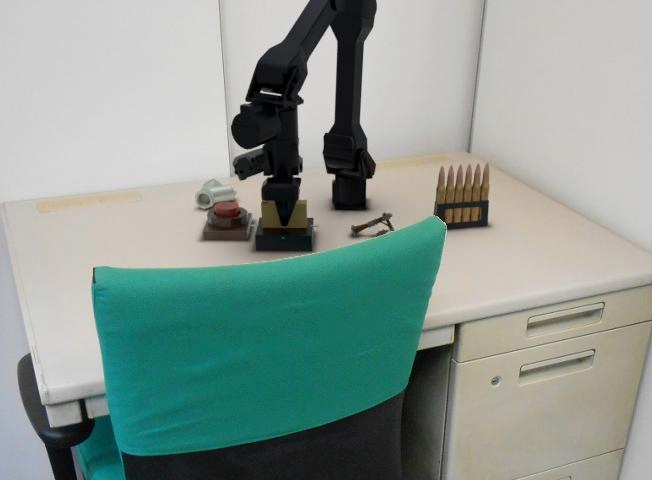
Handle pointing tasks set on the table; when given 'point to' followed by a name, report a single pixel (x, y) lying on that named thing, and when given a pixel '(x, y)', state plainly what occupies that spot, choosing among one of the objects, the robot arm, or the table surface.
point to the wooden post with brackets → (372, 223)
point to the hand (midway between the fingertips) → (284, 223)
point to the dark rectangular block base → (284, 238)
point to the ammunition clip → (463, 198)
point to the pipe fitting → (214, 194)
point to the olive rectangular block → (272, 218)
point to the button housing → (227, 226)
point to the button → (226, 209)
